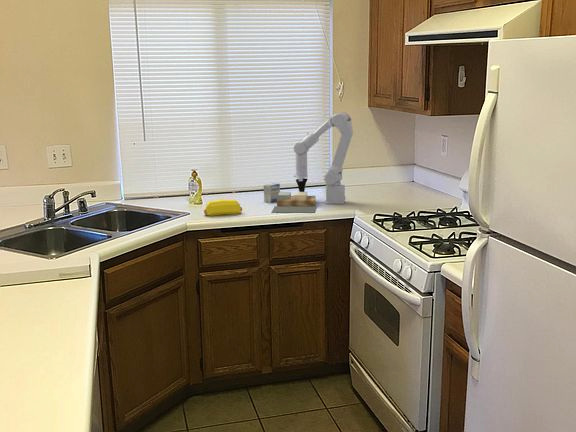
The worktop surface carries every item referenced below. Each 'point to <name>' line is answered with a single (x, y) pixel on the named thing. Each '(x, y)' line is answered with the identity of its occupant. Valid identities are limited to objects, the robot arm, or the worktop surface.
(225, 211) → the banana
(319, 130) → the robot arm
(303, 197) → the ivory card
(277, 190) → the medicine box
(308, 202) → the deck
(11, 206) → the worktop surface
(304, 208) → the mat
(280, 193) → the slate card
